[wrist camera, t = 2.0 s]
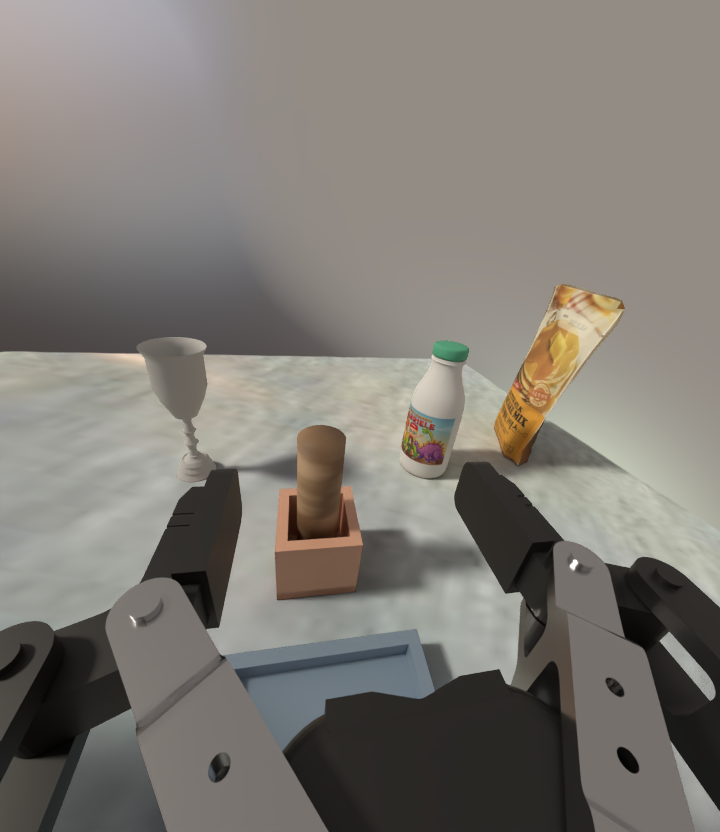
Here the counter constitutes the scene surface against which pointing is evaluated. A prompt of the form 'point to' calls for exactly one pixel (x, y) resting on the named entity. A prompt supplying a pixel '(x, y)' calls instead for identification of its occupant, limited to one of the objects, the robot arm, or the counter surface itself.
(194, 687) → the robot arm
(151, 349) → the chalice
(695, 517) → the counter surface
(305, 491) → the walnut dowel
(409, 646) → the slate tray
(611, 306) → the pancake mix bag
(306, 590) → the terracotta cup
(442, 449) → the milk bottle
